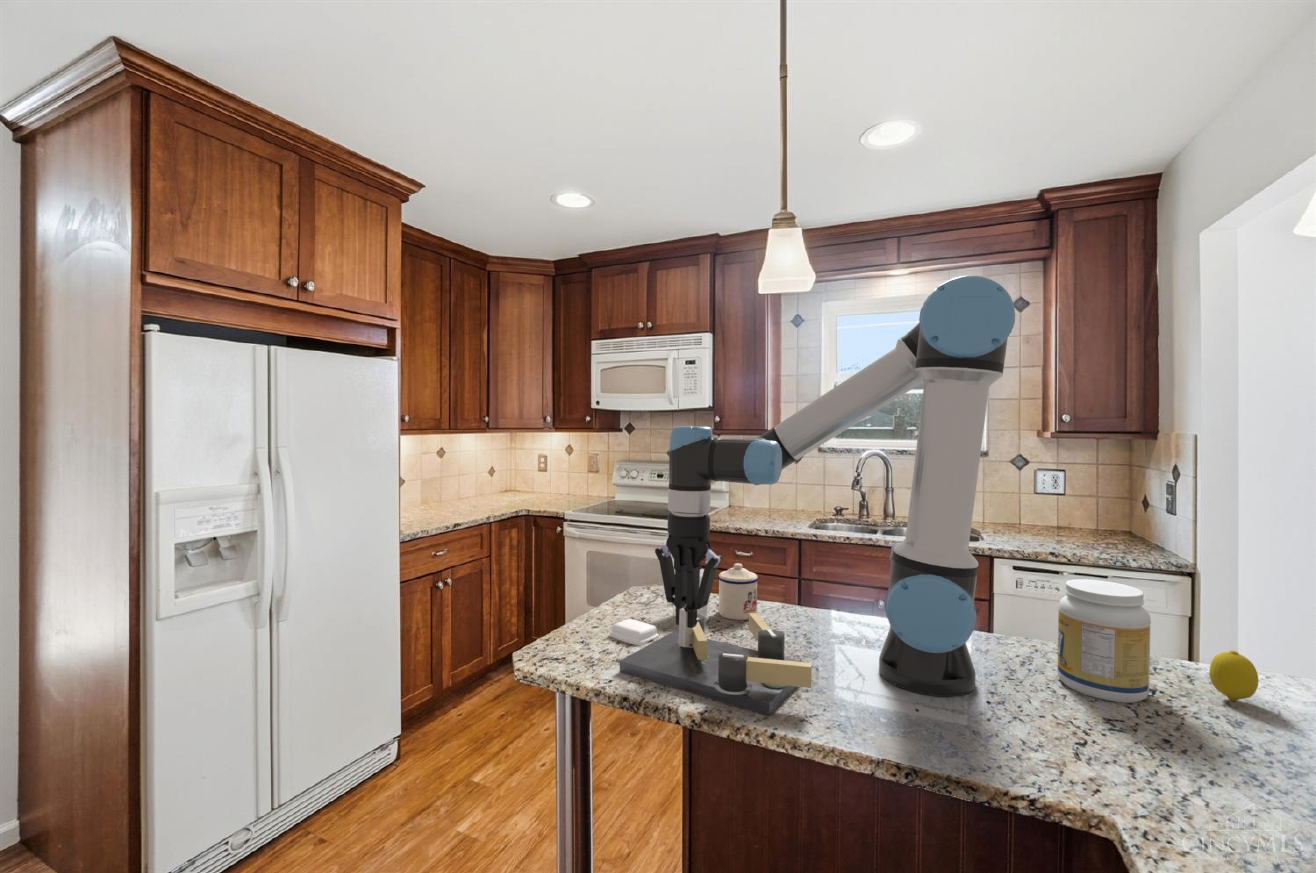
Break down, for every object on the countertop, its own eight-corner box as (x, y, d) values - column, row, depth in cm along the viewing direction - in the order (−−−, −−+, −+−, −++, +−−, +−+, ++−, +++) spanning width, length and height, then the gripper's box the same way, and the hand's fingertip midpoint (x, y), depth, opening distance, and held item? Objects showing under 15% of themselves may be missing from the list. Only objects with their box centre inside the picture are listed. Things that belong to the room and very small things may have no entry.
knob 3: (716, 689, 91) (716, 659, 91) (720, 676, 96) (720, 648, 95) (811, 699, 88) (811, 668, 88) (810, 686, 92) (811, 656, 92)
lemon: (1249, 712, 89) (1250, 660, 89) (1202, 697, 94) (1203, 647, 94) (1264, 704, 92) (1265, 653, 92) (1217, 690, 97) (1218, 642, 96)
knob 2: (788, 663, 101) (788, 636, 101) (762, 664, 100) (762, 637, 100) (764, 634, 115) (764, 610, 115) (741, 635, 115) (741, 611, 115)
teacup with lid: (750, 623, 129) (751, 570, 128) (712, 617, 133) (712, 566, 133) (766, 608, 139) (766, 559, 139) (730, 603, 143) (730, 555, 143)
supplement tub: (1058, 667, 106) (1059, 573, 106) (1145, 684, 99) (1147, 584, 98) (1056, 691, 96) (1057, 589, 96) (1153, 713, 89) (1155, 602, 89)
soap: (661, 638, 120) (661, 624, 120) (639, 648, 115) (639, 633, 115) (629, 629, 126) (629, 615, 126) (606, 637, 121) (607, 623, 121)
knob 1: (678, 636, 114) (679, 612, 114) (702, 635, 114) (702, 611, 114) (689, 666, 100) (689, 638, 100) (715, 665, 100) (716, 638, 100)
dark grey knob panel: (810, 674, 102) (810, 662, 102) (766, 719, 86) (766, 704, 86) (674, 641, 118) (674, 630, 118) (616, 674, 102) (616, 662, 102)
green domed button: (791, 681, 95) (791, 676, 95) (782, 690, 91) (782, 686, 91) (768, 675, 97) (768, 671, 97) (758, 684, 94) (758, 679, 94)
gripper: (731, 514, 104) (727, 646, 104) (670, 506, 111) (667, 630, 111) (710, 519, 97) (706, 659, 98) (647, 511, 104) (644, 642, 105)
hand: (685, 643), depth 105 cm, fingers closed
